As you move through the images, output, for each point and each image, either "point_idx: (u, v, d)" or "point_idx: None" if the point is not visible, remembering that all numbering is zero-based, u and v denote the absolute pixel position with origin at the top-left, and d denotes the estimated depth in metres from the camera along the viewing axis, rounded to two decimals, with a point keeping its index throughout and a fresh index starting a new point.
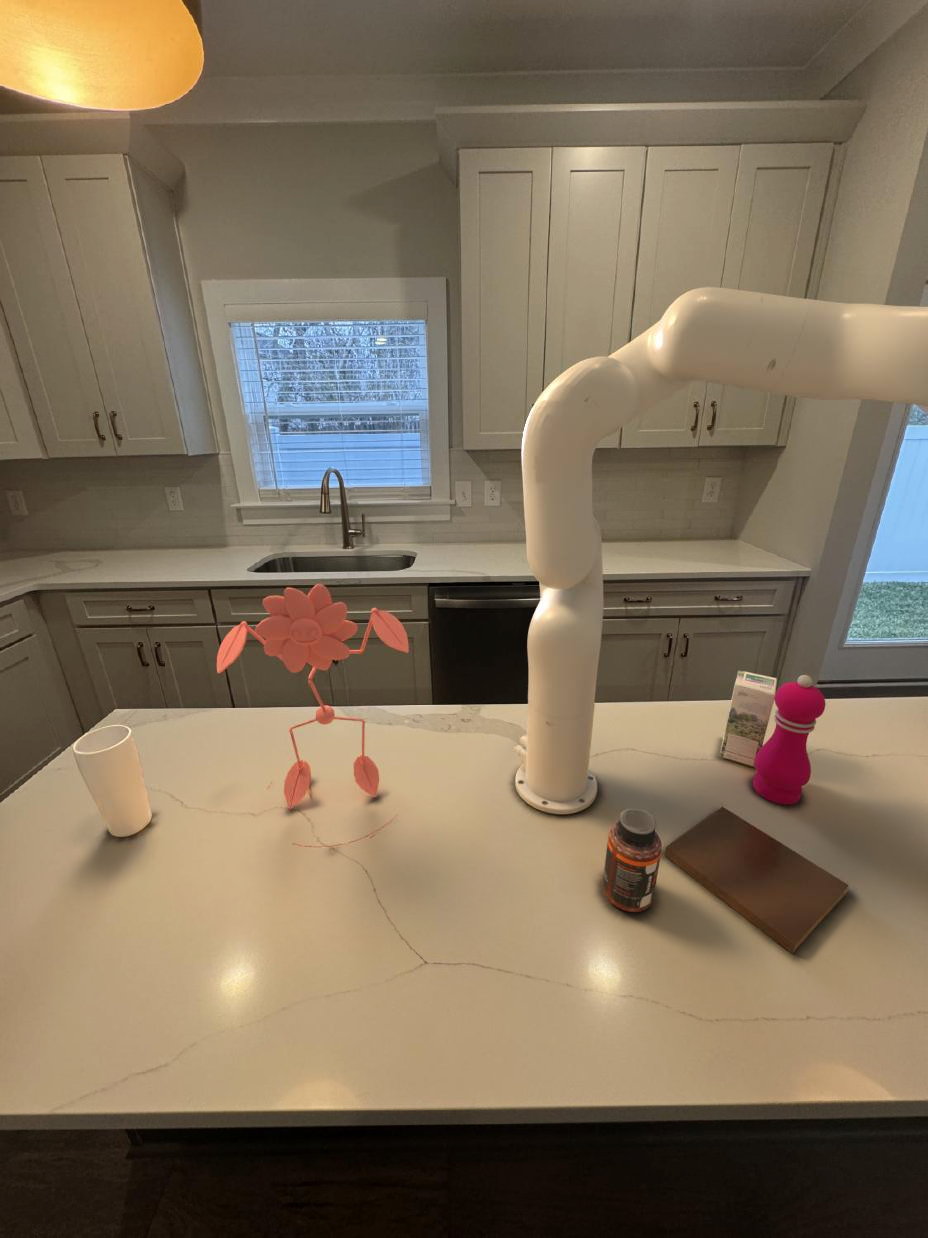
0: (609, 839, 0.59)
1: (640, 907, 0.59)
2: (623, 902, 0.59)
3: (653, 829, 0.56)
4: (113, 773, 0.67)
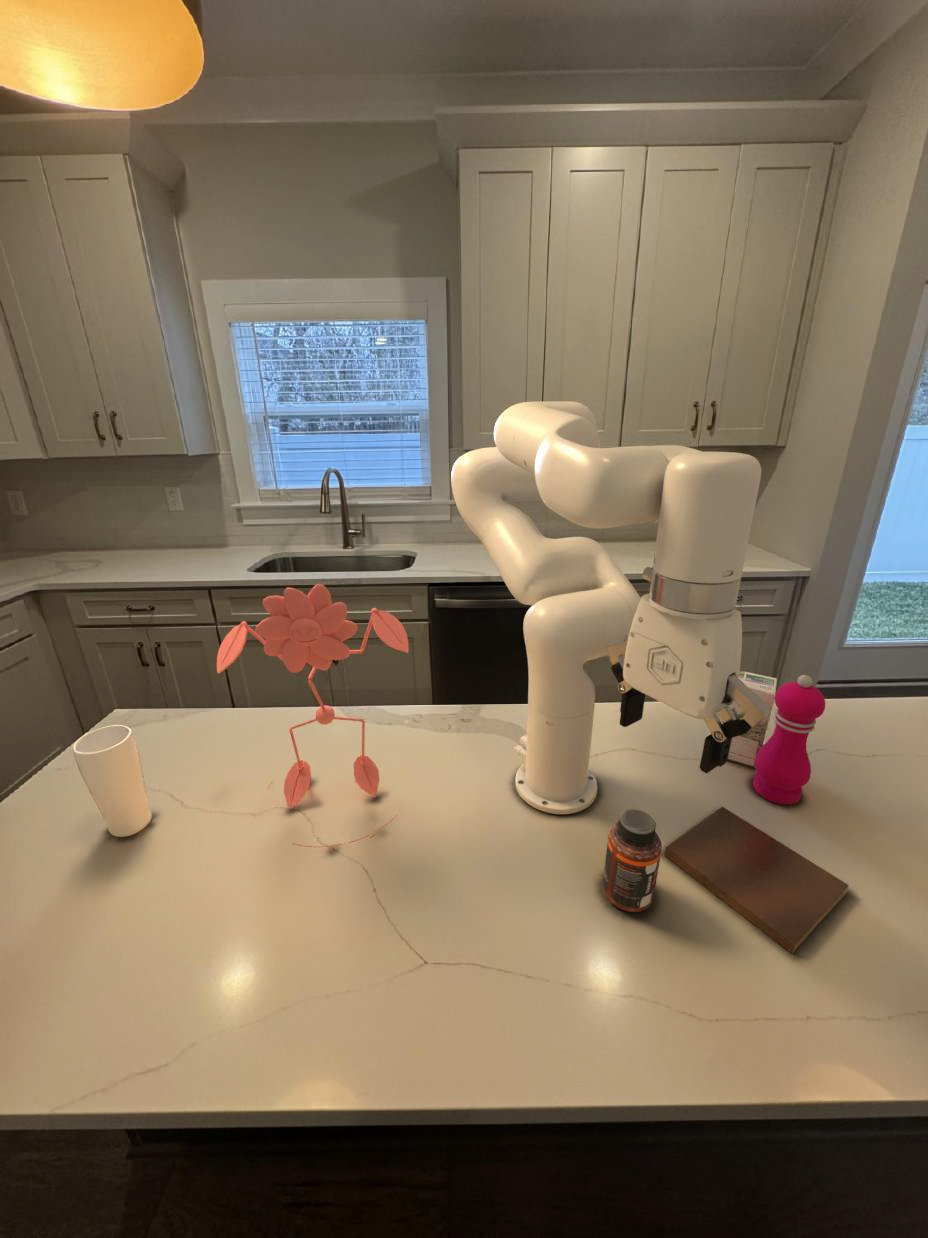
0: (609, 839, 0.59)
1: (640, 907, 0.59)
2: (623, 902, 0.59)
3: (653, 829, 0.56)
4: (113, 773, 0.67)
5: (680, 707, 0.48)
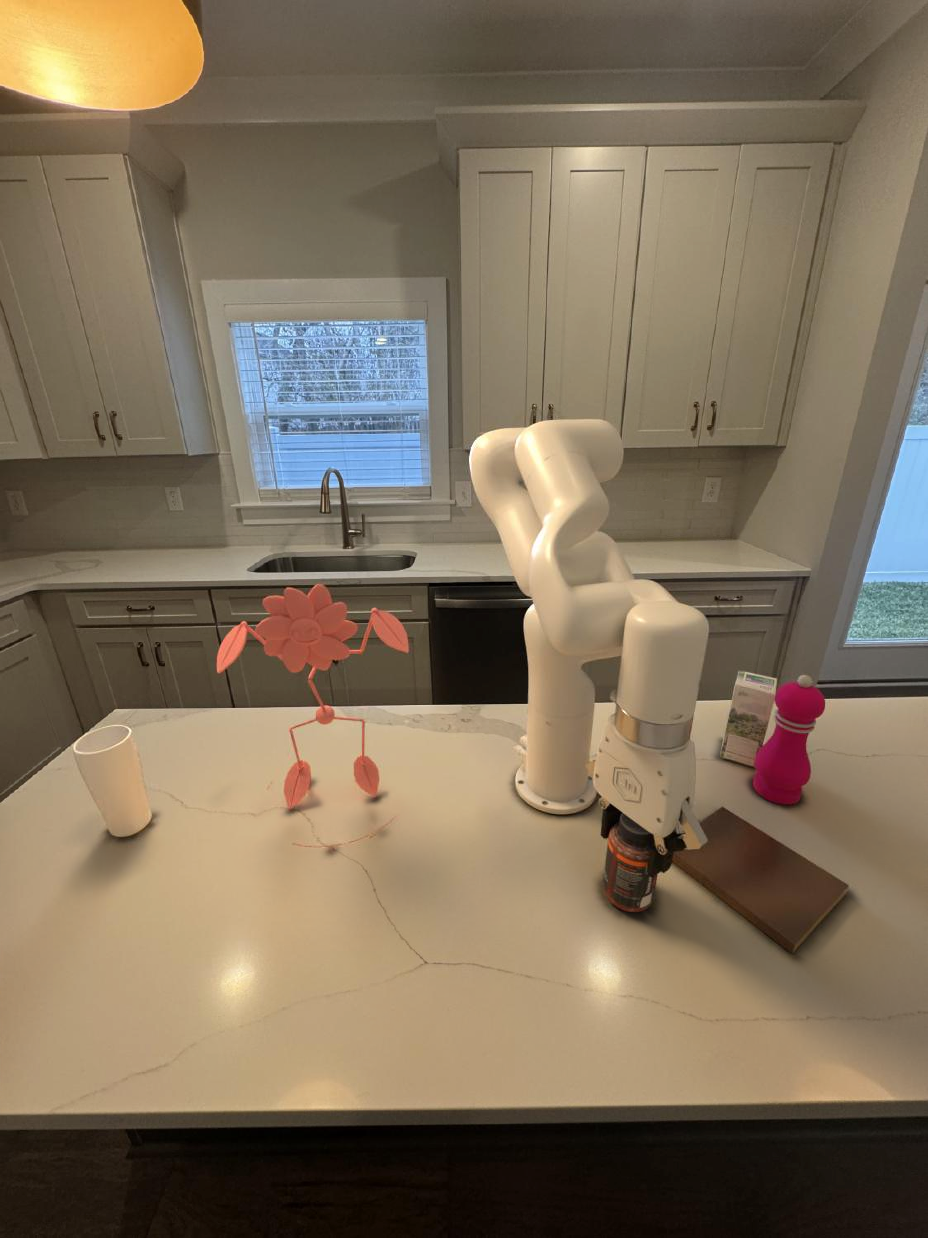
0: (609, 839, 0.59)
1: (640, 907, 0.59)
2: (623, 902, 0.59)
3: None
4: (113, 773, 0.67)
5: (641, 823, 0.53)
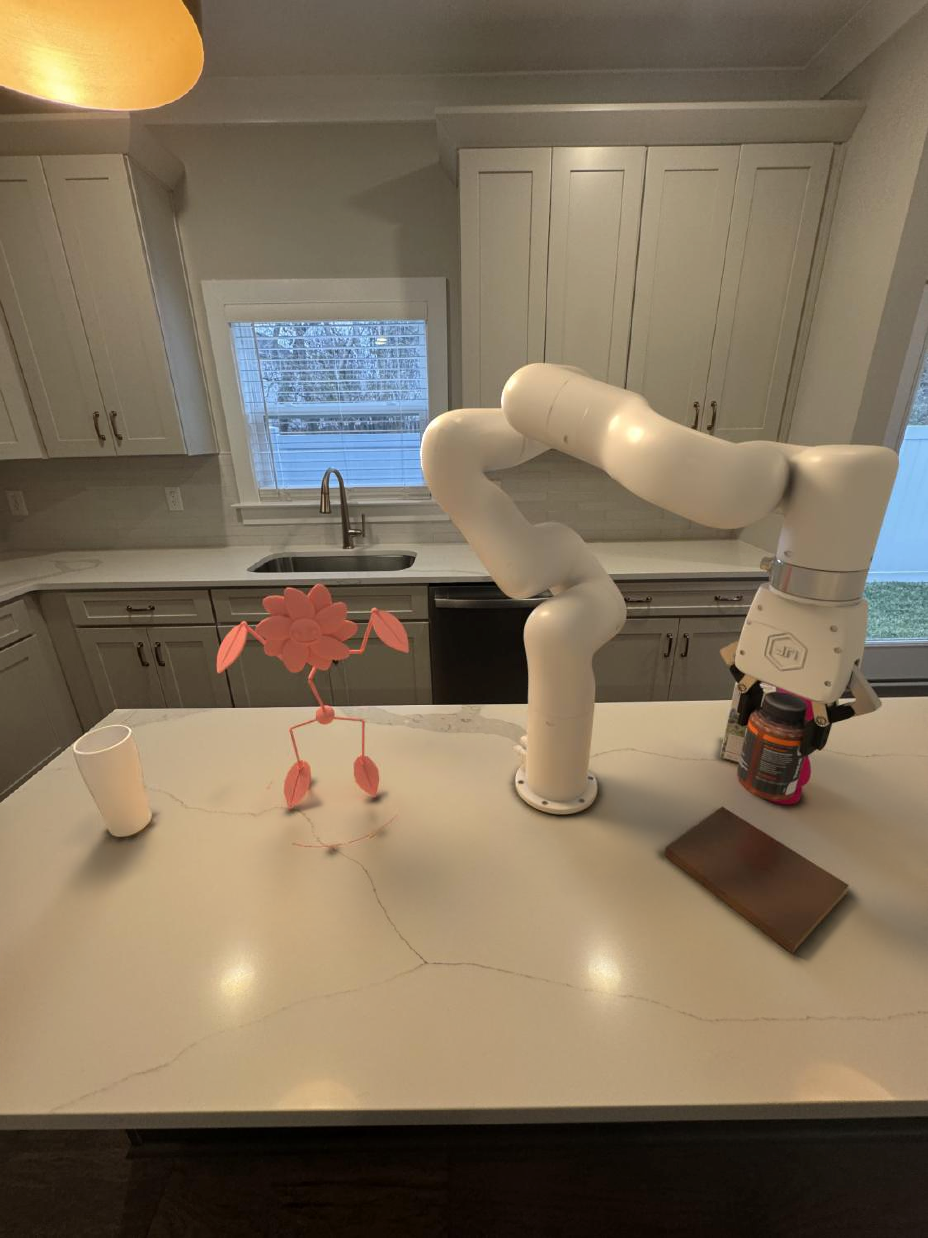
0: (752, 722, 0.55)
1: (785, 794, 0.55)
2: (767, 789, 0.55)
3: (806, 707, 0.53)
4: (113, 773, 0.67)
5: (801, 692, 0.50)
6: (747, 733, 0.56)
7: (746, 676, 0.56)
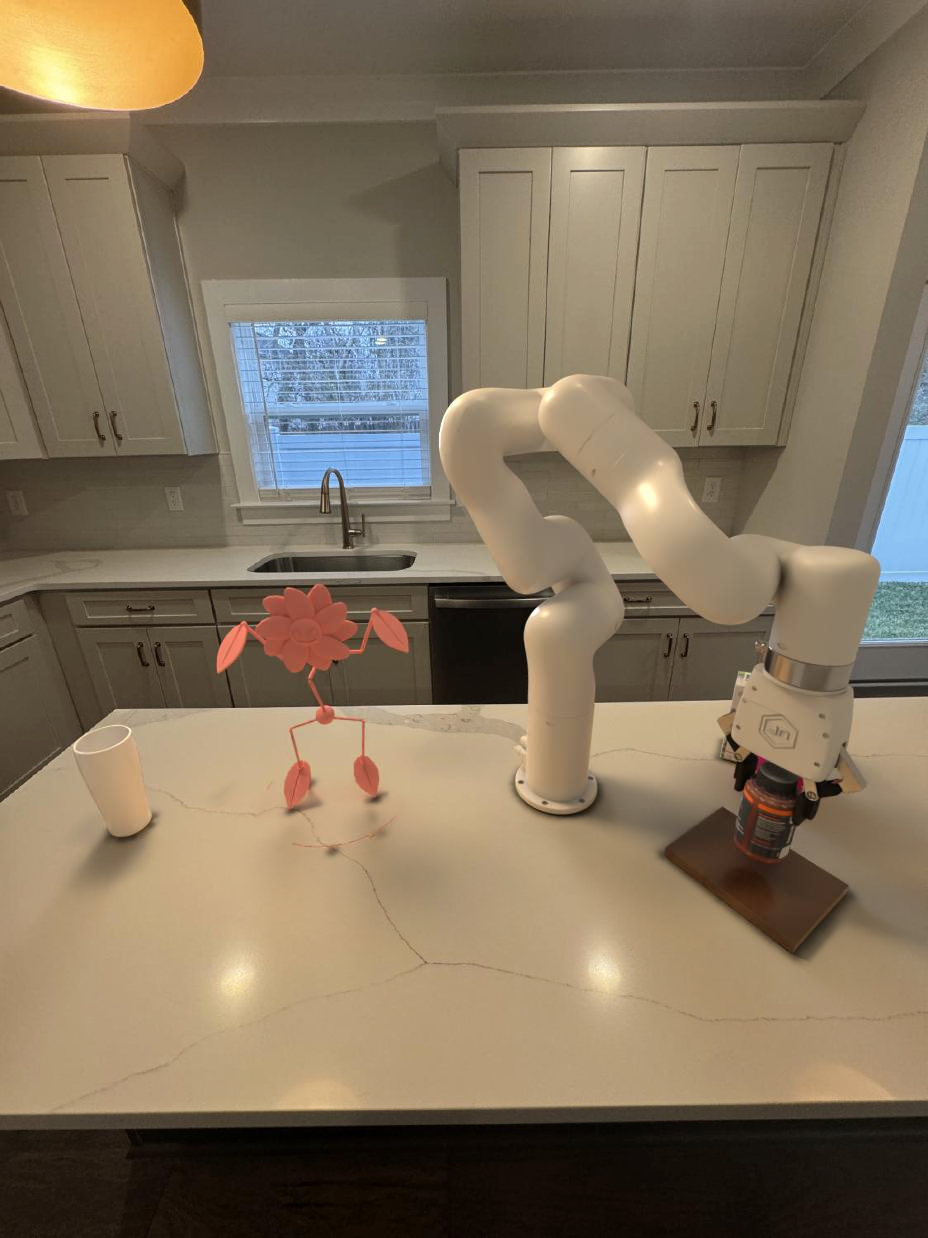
0: (748, 791, 0.59)
1: (779, 858, 0.59)
2: (762, 853, 0.59)
3: (797, 779, 0.57)
4: (113, 773, 0.67)
5: (793, 769, 0.54)
6: (743, 799, 0.60)
7: (742, 747, 0.60)
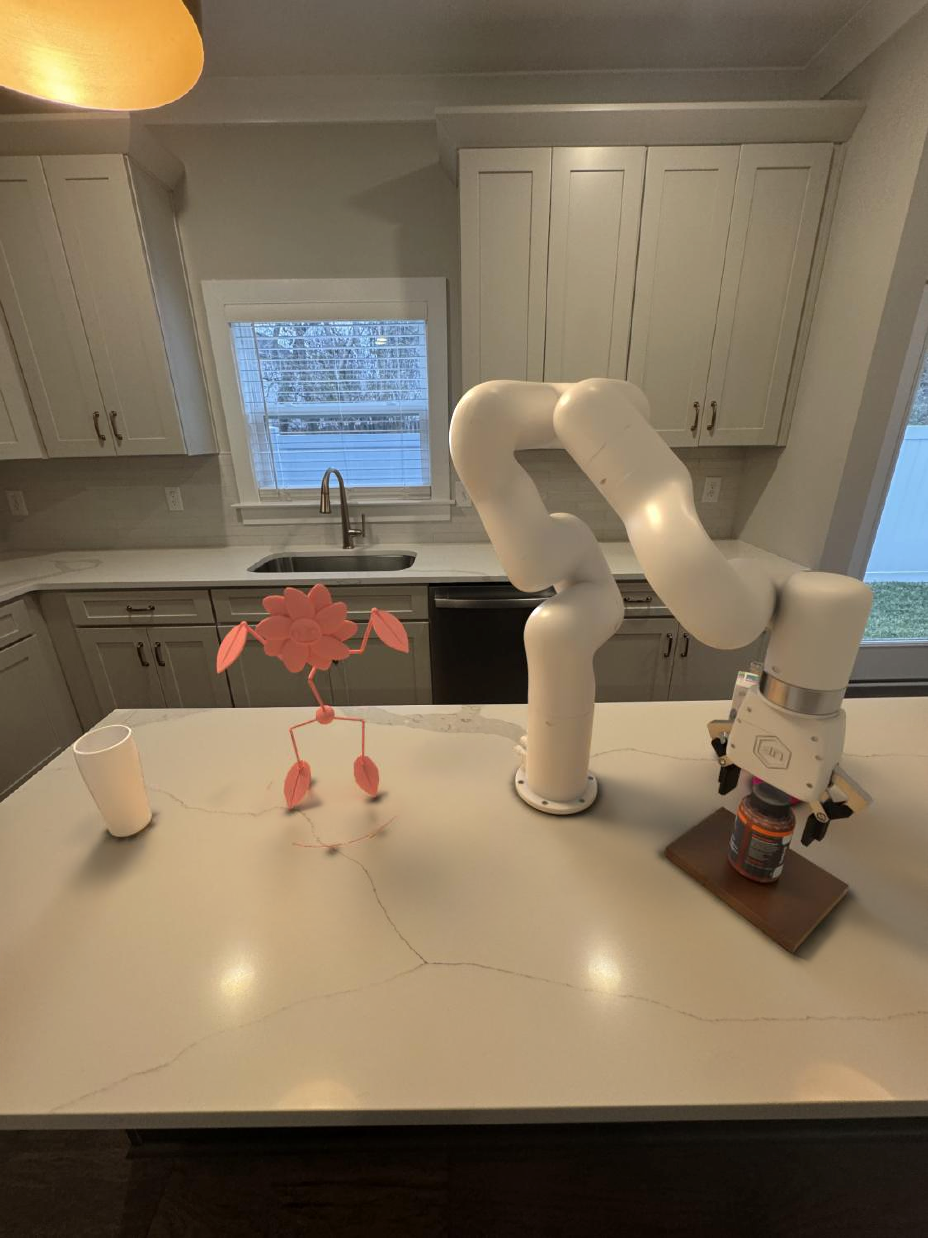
0: (741, 812, 0.60)
1: (772, 877, 0.60)
2: (755, 873, 0.60)
3: (790, 801, 0.58)
4: (113, 773, 0.67)
5: (786, 789, 0.55)
6: (737, 820, 0.62)
7: None
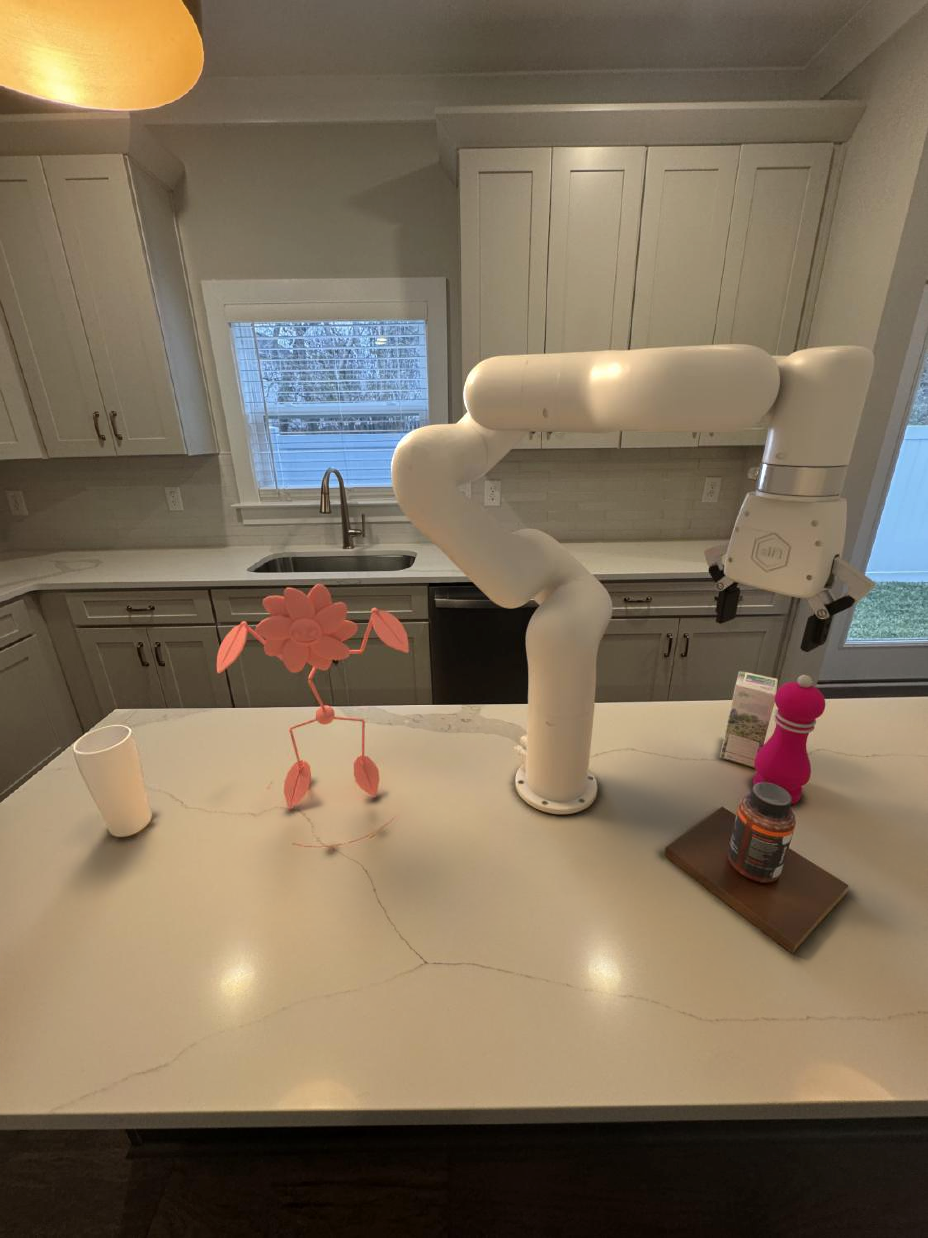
0: (741, 811, 0.61)
1: (772, 877, 0.60)
2: (755, 873, 0.60)
3: (790, 801, 0.58)
4: (113, 773, 0.67)
5: (785, 589, 0.53)
6: (737, 820, 0.62)
7: None
